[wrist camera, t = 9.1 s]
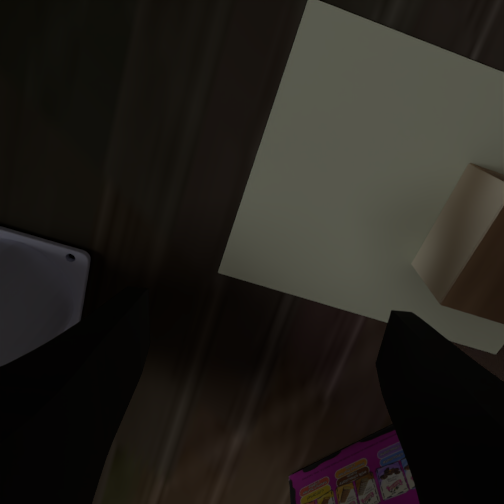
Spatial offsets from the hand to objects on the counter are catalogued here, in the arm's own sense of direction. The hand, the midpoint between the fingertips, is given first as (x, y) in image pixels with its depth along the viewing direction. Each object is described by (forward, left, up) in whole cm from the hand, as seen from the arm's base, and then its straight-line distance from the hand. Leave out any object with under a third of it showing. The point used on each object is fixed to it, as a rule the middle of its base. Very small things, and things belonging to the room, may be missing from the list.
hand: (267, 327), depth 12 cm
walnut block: (+9, +3, -8) cm, 12 cm away
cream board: (+8, +3, -10) cm, 13 cm away
